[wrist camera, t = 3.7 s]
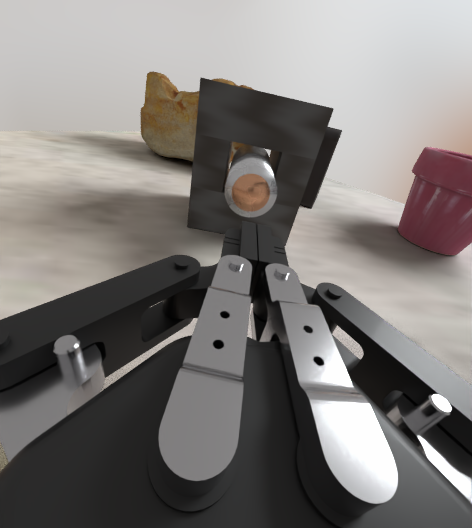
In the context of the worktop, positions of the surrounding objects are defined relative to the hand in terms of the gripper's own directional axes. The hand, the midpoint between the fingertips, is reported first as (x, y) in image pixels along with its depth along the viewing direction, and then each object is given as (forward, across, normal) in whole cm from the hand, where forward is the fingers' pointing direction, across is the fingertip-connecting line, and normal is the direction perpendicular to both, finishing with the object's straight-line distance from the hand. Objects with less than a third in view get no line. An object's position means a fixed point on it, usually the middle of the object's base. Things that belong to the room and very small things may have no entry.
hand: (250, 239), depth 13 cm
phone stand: (+35, -11, +8) cm, 38 cm away
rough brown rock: (+46, +9, +8) cm, 48 cm away
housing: (+20, 0, +8) cm, 22 cm away
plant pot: (+26, -31, +8) cm, 42 cm away
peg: (+14, 0, +3) cm, 14 cm away
